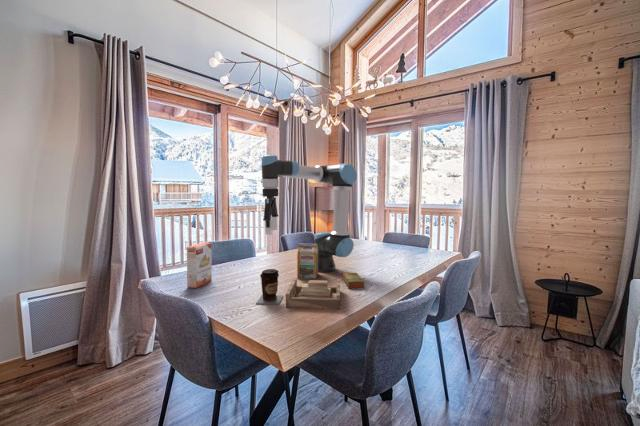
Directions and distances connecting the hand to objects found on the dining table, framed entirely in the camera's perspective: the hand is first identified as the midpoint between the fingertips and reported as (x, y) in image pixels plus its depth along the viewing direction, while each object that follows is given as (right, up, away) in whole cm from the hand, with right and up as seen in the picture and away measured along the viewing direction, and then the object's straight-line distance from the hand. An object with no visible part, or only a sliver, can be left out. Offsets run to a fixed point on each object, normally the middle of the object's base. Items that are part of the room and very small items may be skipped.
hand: (271, 232), depth 147 cm
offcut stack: (+22, -30, -1) cm, 37 cm away
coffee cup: (+1, -30, -10) cm, 31 cm away
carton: (+41, -29, +14) cm, 52 cm away
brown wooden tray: (+21, -30, -7) cm, 38 cm away
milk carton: (+17, -27, +28) cm, 42 cm away
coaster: (+1, -30, -10) cm, 32 cm away
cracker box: (-40, -28, +13) cm, 50 cm away
